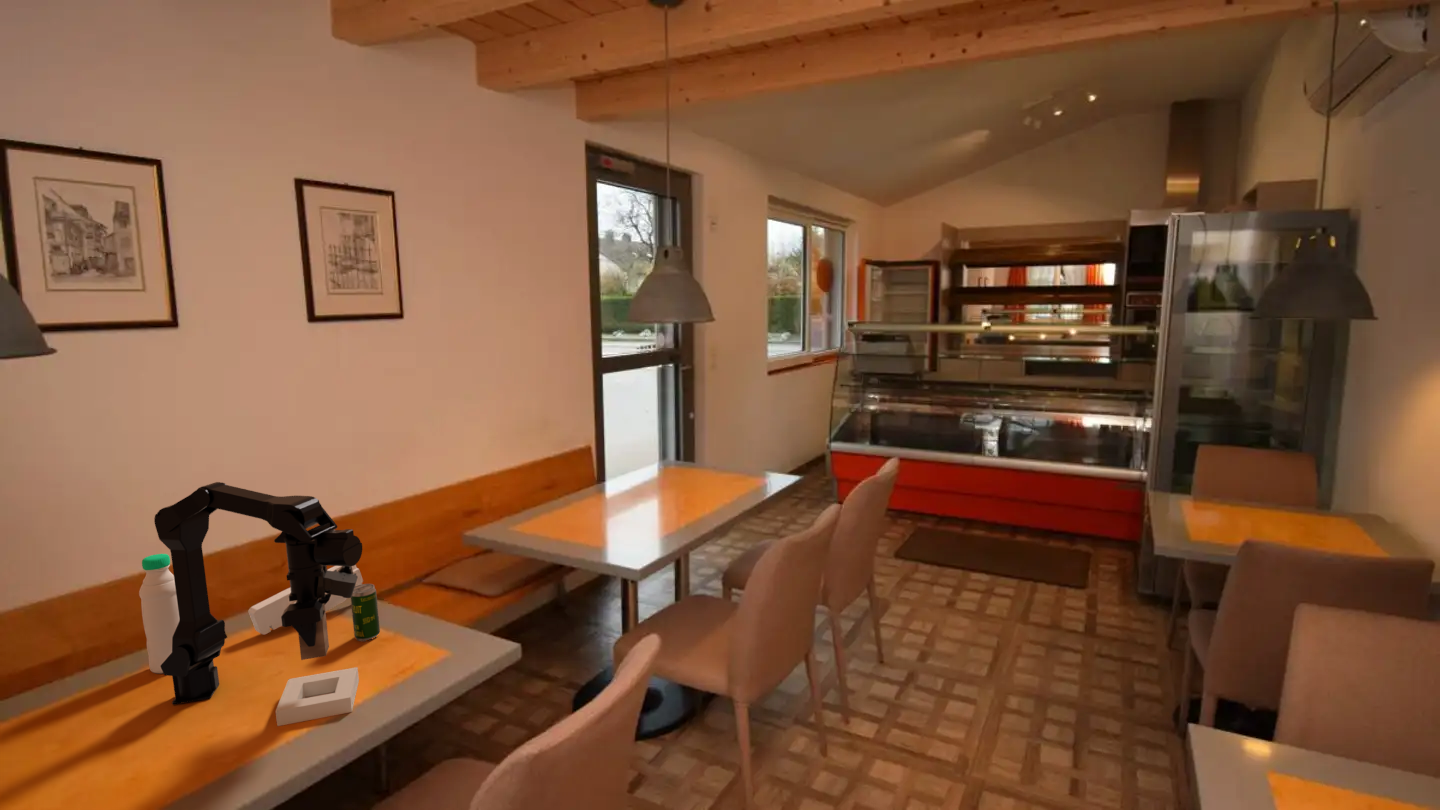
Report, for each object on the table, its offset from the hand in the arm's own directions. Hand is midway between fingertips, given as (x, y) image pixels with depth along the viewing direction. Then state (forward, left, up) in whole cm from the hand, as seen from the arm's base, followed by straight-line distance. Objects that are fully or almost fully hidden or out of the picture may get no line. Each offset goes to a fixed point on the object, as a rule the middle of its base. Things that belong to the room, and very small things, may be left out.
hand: (313, 640), depth 143 cm
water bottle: (-33, +29, -13) cm, 46 cm away
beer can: (+6, +28, -13) cm, 31 cm away
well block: (0, 0, -13) cm, 13 cm away
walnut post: (0, 0, -2) cm, 3 cm away
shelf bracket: (-8, +44, -13) cm, 47 cm away
